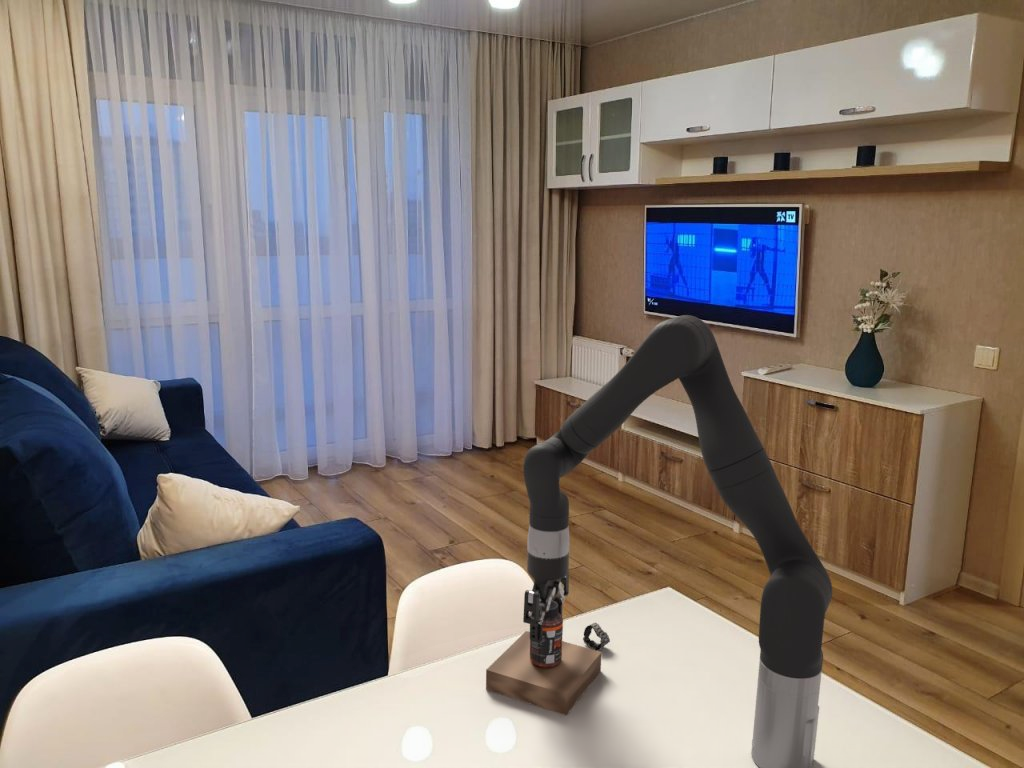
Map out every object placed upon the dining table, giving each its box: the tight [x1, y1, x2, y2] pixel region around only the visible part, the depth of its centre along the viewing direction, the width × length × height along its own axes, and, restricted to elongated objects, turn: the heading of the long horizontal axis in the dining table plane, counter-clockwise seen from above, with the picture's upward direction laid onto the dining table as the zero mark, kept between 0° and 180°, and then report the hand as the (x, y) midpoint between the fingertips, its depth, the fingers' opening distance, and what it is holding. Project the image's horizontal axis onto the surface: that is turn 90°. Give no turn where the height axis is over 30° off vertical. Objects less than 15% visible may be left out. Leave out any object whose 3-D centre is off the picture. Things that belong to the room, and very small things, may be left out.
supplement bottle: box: [530, 600, 564, 668], centre depth 151 cm, size 6×6×11 cm
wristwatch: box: [582, 622, 611, 651], centre depth 165 cm, size 3×5×5 cm
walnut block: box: [485, 630, 602, 716], centre depth 152 cm, size 16×16×4 cm
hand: (546, 630), depth 151 cm, fingers open, 8 cm apart
